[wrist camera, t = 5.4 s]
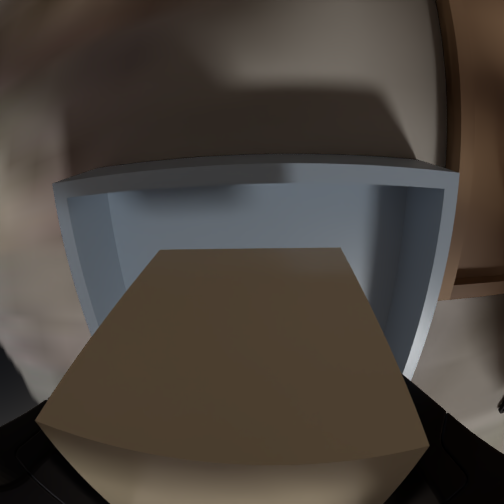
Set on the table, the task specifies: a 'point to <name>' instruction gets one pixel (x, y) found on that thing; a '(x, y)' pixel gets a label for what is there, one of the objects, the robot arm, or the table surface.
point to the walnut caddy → (475, 144)
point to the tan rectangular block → (238, 386)
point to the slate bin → (269, 225)
